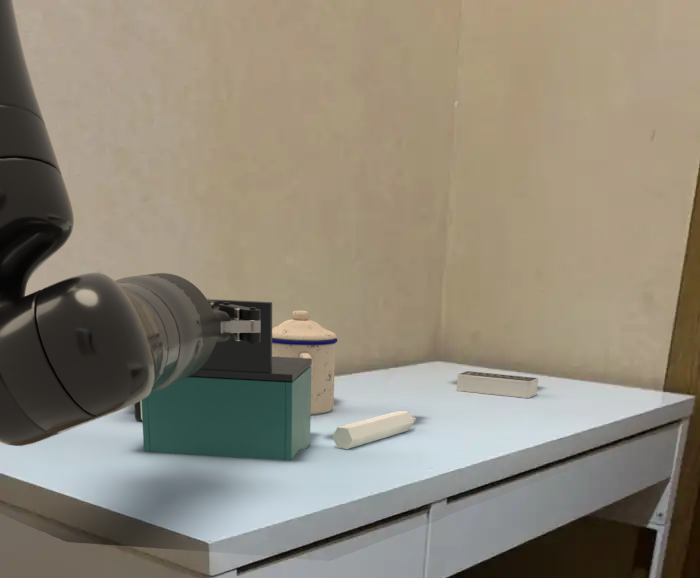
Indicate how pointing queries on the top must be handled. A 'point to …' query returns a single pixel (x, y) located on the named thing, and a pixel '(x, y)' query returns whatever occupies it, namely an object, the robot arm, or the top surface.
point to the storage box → (229, 417)
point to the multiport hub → (497, 384)
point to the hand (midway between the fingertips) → (210, 313)
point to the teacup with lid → (309, 355)
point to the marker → (372, 429)
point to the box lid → (252, 354)
